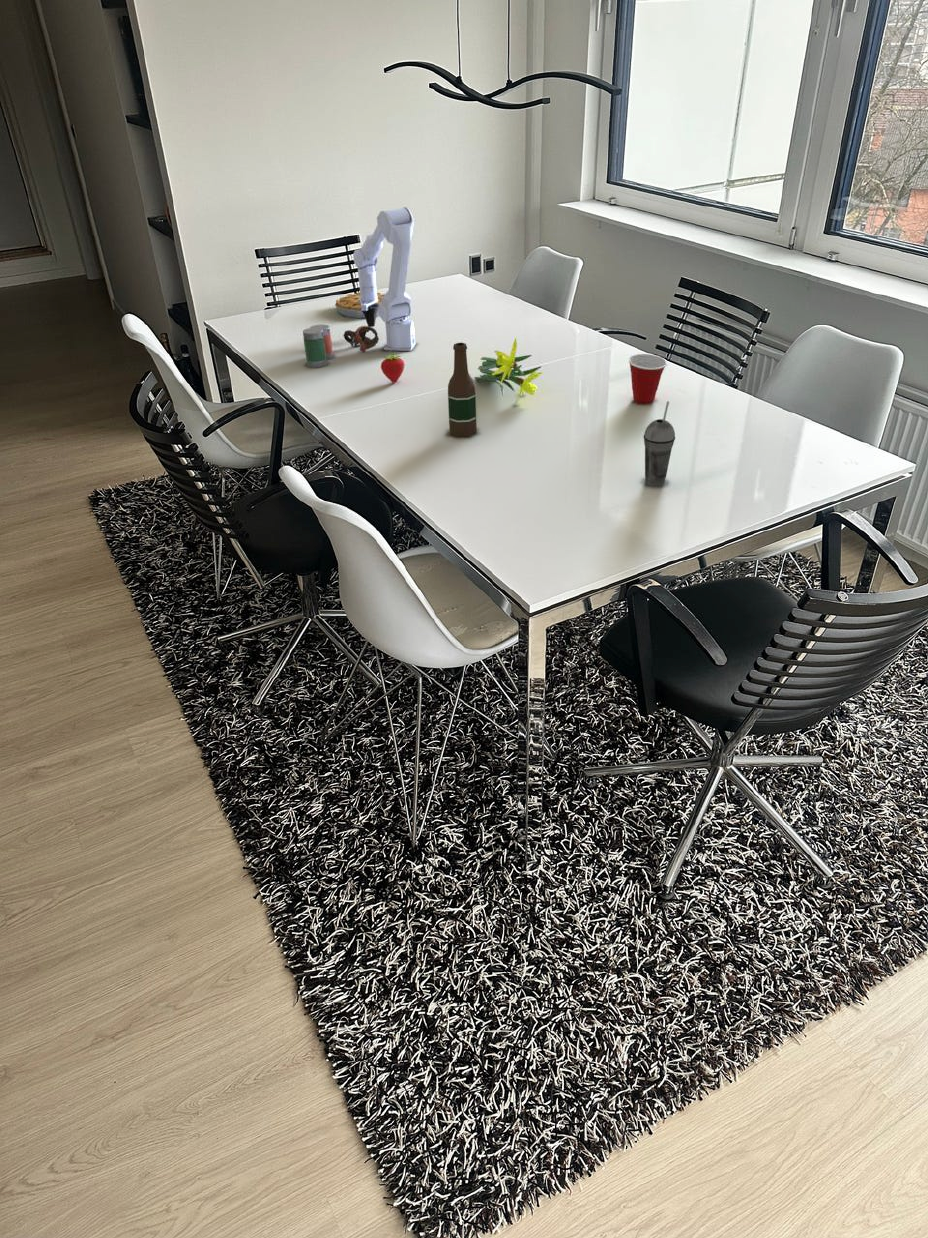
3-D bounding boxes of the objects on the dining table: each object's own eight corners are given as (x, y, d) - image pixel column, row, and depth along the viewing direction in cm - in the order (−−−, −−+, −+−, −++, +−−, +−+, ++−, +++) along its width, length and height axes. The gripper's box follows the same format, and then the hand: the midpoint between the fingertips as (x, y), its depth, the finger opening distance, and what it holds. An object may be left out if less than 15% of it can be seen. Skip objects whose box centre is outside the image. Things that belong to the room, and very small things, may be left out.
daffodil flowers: (517, 374, 279) (565, 379, 248) (483, 406, 278) (527, 415, 247) (485, 331, 272) (530, 330, 240) (450, 363, 271) (491, 366, 240)
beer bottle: (481, 428, 243) (479, 340, 229) (472, 439, 237) (469, 349, 223) (454, 425, 245) (450, 338, 231) (444, 436, 239) (440, 347, 225)
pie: (369, 322, 328) (368, 308, 325) (324, 314, 338) (323, 300, 335) (404, 307, 343) (404, 293, 340) (360, 300, 353) (359, 287, 350)
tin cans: (335, 354, 298) (331, 321, 292) (323, 367, 288) (319, 333, 281) (316, 354, 299) (312, 320, 293) (304, 367, 289) (299, 333, 282)
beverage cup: (636, 476, 215) (642, 397, 204) (665, 474, 216) (674, 395, 204) (643, 490, 209) (651, 408, 198) (674, 488, 210) (683, 406, 198)
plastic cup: (650, 410, 249) (653, 368, 242) (617, 401, 255) (620, 360, 249) (670, 399, 256) (675, 358, 249) (638, 391, 262) (642, 350, 255)
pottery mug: (378, 343, 308) (381, 325, 301) (374, 363, 304) (378, 346, 296) (343, 335, 306) (346, 318, 299) (339, 356, 302) (342, 338, 295)
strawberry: (378, 382, 275) (376, 350, 269) (400, 377, 278) (398, 345, 272) (386, 387, 271) (384, 355, 265) (409, 383, 274) (407, 350, 268)
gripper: (362, 280, 311) (365, 319, 318) (350, 291, 299) (354, 332, 307) (381, 280, 310) (384, 320, 317) (371, 291, 298) (374, 332, 306)
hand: (371, 326), depth 312 cm, fingers closed
